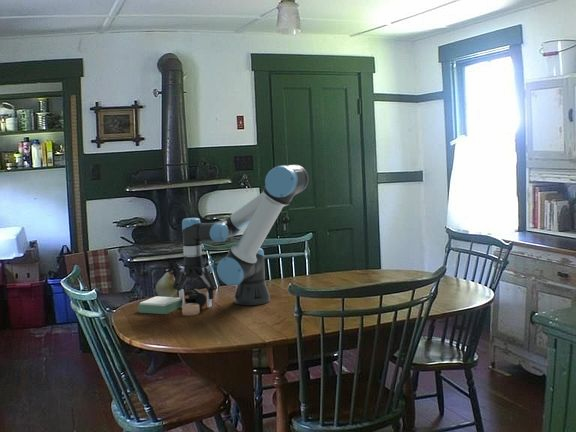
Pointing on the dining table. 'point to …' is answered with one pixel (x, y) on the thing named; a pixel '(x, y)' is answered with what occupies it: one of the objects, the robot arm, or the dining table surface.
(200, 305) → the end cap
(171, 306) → the stand
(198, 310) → the pinkish tan egg
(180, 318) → the dining table surface
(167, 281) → the fruit
